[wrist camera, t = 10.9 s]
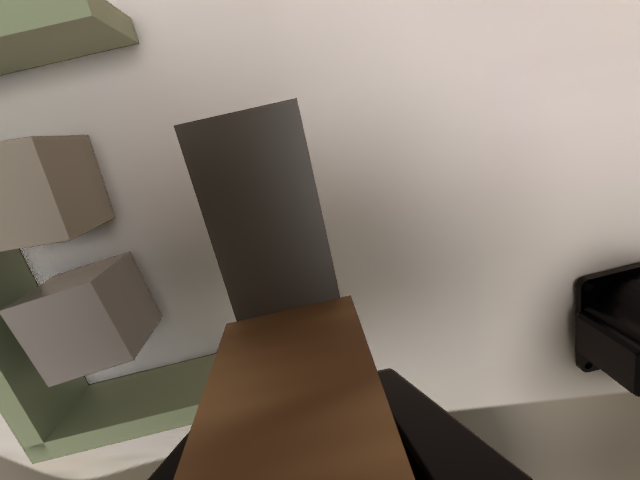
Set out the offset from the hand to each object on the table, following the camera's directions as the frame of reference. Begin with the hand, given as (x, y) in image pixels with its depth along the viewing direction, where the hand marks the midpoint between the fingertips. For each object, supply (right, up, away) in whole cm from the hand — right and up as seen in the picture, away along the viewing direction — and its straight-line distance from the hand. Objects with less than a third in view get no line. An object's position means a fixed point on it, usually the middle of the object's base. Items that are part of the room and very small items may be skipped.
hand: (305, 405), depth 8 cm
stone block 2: (-11, 0, +12) cm, 16 cm away
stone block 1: (-12, +6, +10) cm, 17 cm away
